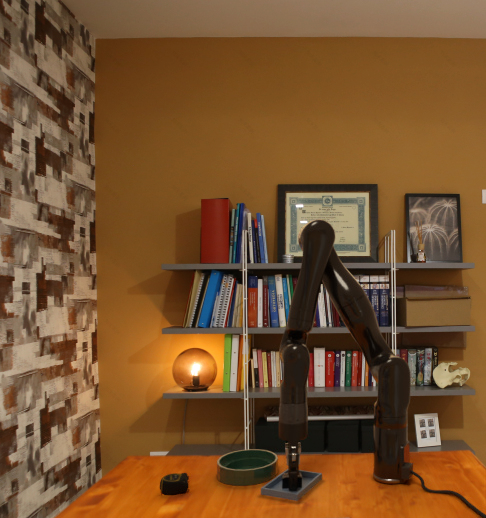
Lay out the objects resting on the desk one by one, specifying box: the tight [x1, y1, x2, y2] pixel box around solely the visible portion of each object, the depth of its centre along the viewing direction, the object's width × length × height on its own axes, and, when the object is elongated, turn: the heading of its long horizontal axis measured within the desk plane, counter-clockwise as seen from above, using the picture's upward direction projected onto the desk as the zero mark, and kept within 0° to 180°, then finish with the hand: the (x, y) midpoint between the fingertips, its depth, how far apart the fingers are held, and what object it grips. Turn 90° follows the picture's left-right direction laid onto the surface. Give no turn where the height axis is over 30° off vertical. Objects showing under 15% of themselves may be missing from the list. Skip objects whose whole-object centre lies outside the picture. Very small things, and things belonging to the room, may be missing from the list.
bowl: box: [216, 448, 279, 487], centre depth 135 cm, size 16×16×4 cm
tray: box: [260, 468, 323, 502], centre depth 127 cm, size 10×14×2 cm
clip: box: [282, 472, 302, 489], centre depth 127 cm, size 5×2×3 cm, turn 100°
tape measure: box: [159, 472, 190, 496], centre depth 124 cm, size 7×7×4 cm
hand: (292, 484), depth 127 cm, fingers open, 5 cm apart
